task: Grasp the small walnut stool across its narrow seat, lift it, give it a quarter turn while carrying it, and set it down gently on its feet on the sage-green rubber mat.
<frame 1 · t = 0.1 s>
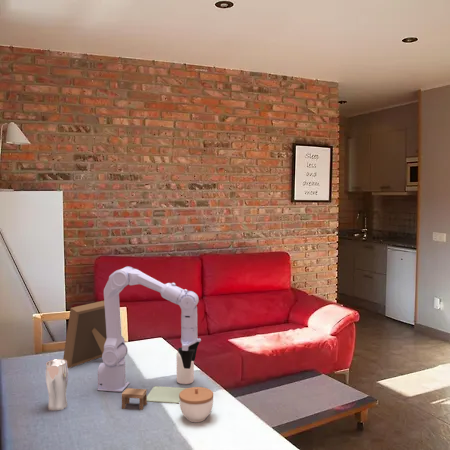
hand: (189, 364, 167), 10 cm above the table, fingers open, 7 cm apart
photo frame: (95, 362, 198), on the table
stool: (134, 406, 156), on the table
can: (185, 381, 177), on the table
beer glass: (57, 407, 155), on the table
lidded jar: (196, 418, 148), on the table
mat: (165, 395, 165), on the table
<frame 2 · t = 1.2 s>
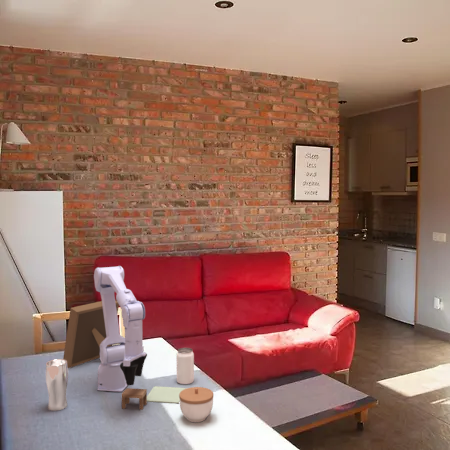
hand: (134, 380, 155), 9 cm above the table, fingers open, 7 cm apart
nothing on the table moved.
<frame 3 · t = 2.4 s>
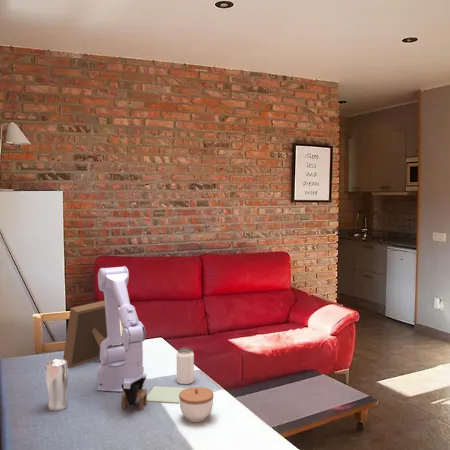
hand: (134, 401, 156), 2 cm above the table, fingers closed on stool, 4 cm apart
stool: (134, 406, 156), on the table, touching gripper
everything else where it was.
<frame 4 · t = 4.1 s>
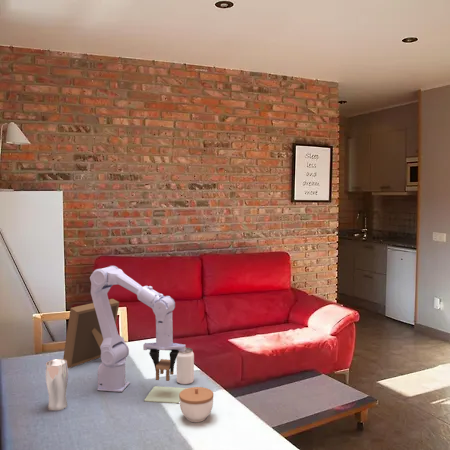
hand: (164, 370, 164), 9 cm above the table, fingers closed on stool, 5 cm apart
stool: (164, 376, 164), point 6 cm above the table, touching gripper
everything else where it was.
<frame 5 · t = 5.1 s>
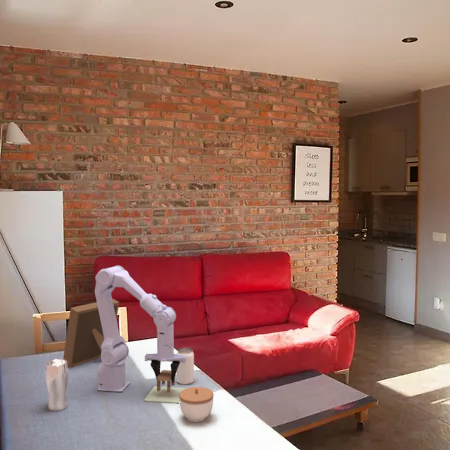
hand: (165, 381, 164), 5 cm above the table, fingers closed on stool, 5 cm apart
stool: (166, 387, 165), point 2 cm above the table, touching gripper
everything else where it was.
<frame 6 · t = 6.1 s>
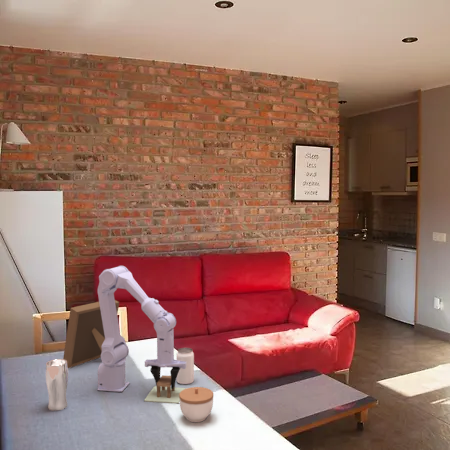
hand: (165, 387, 164), 3 cm above the table, fingers closed on stool, 5 cm apart
stool: (166, 393, 165), resting on mat, touching gripper
everything else where it was.
when the fingers open (3 cm above the table, at t = 6.1 s): stool stays where it is, resting on mat.
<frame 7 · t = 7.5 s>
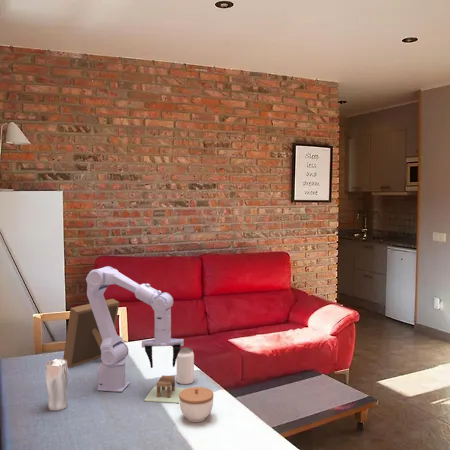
hand: (162, 366, 165), 10 cm above the table, fingers open, 7 cm apart
stool: (166, 393, 165), resting on mat
everything else where it was.
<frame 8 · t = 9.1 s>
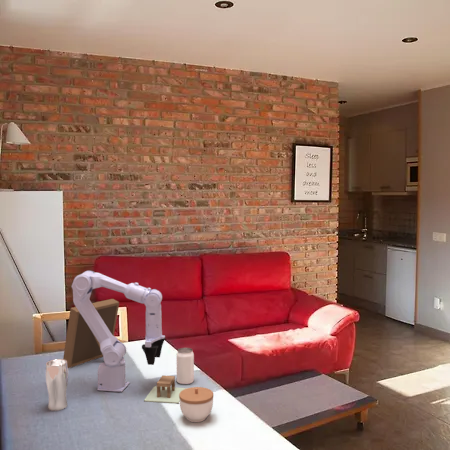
hand: (154, 360, 171), 10 cm above the table, fingers open, 7 cm apart
nothing on the table moved.
at the end: stool inside the target area on the mat (0.5 cm from its centre), point 0.4 cm above the mat's base; stool tilted 0°; the gripper is holding nothing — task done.
